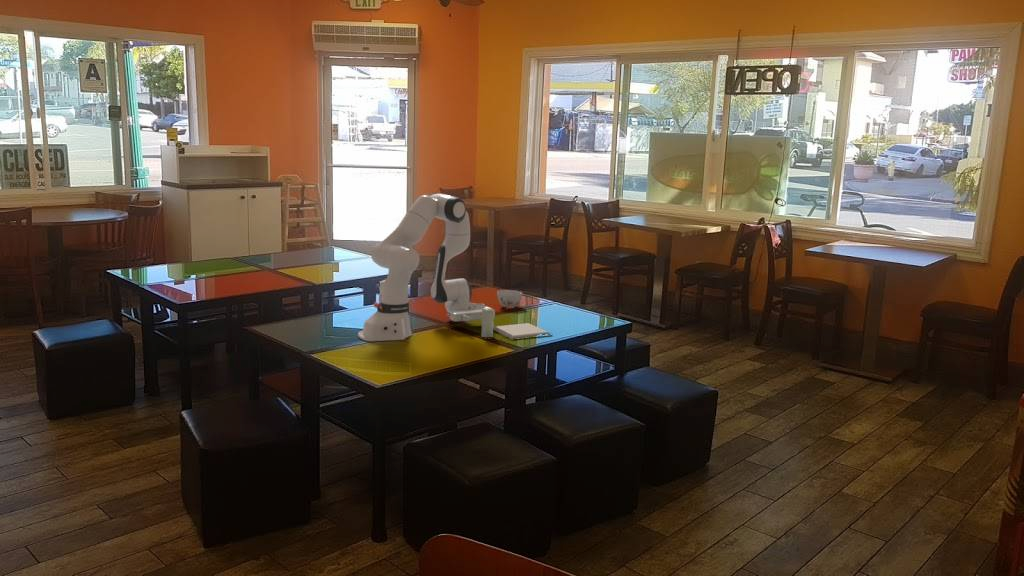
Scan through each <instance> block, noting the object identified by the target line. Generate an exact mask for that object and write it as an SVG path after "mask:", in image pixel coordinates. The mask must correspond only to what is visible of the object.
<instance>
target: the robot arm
mask: <svg viewBox="0 0 1024 576" xmlns="http://www.w3.org/2000/svg"><path fill="white" fill-rule="evenodd" d="M466 208H467V207H466V202H465V201H464V200H463V199H461V198H460V197H458V196H453V195H449V194H446V193H436V192H435V193H429V194H422V195H420V196H419V197H418V198H417V199H416V200H414V202H413V203H412V204H411V206H410V207H409V209H408V210H407V212H406V213H405V214H404V216H403V218H402V219H401V221H400V223H398V225H397V227H396V228H395V229H394V230H393V231H392V232H390V233H389V235H388V236H387V237H386V238H384V239H383V240H382V241H380V242H377V243H375V245H373V247H372V249H371V252H370V256H371V260H372V262H373V263H375V264H376V265H377V266H379V267H381V268H385V269H388V271H387V273H388V274H387V277H386V279H384V280H385V281H384V280H383V281H384V282H383V283H382V302H381V303H379V302H374V303H373V307H374V308H376V312H374V313H373V314H372V315H371V316H369V317H367V319H366V320H365V321H364V324H363V328H362V330H361V331H358V333H357V337H358V338H359V339H361V340H363V341H366V342H381V341H383V342H384V341H401V340H406V338H408V337H409V338H410V337H411V336H412V335H413V333H412V330H411V326H410V320H409V319H410V318H409V315H410V302H409V286H410V285H409V284H410V279H411V277H412V274H413V272H414V271H415V270H416V269H417V268H418V267H419V264H420V255H419V253H418V251H417V250H415V249H414V248H412V246H414V245H416V244H417V243H419V242H420V241H422V239H423V237H424V236H425V234H426V232H427V231H428V229H429V227H430V226H431V224H432V222H433V220H434V219H435V218H436V219H439V220H441V221H442V220H443V221H444V222H445V237H444V241H443V243H442V244H441V245H439V247H438V249H437V254H436V257H435V258H436V260H435V267H434V273H433V279H432V281H431V287H430V296H431V299H432V300H433V301H435V302H436V303H437V304H442V303H443V304H444V303H445V304H444V306H445V309H446V311H447V313H446V316H447V317H449V319H450V320H451V321H452V322H464V323H469V322H472V321H477V320H482V309H484V308H491V309H493V308H492V307H489V306H488V305H485V303H481V302H480V303H477V302H475V303H474V302H471V300H472V296H473V290H472V289H473V288H472V285H471V283H470V281H468V280H467V279H466V278H463V277H462V278H454V279H447V280H446V279H445V278H446V272H447V266H448V262H449V261H450V260H451V259H453V258H454V257H456V256H458V255H459V254H462V253H463V252H464V251H466V250H467V249H468V248H469V246H470V242H471V223H470V216H469V213H468V211H467V209H466ZM495 315H496V310H495V309H494V318H495Z"/></svg>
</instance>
